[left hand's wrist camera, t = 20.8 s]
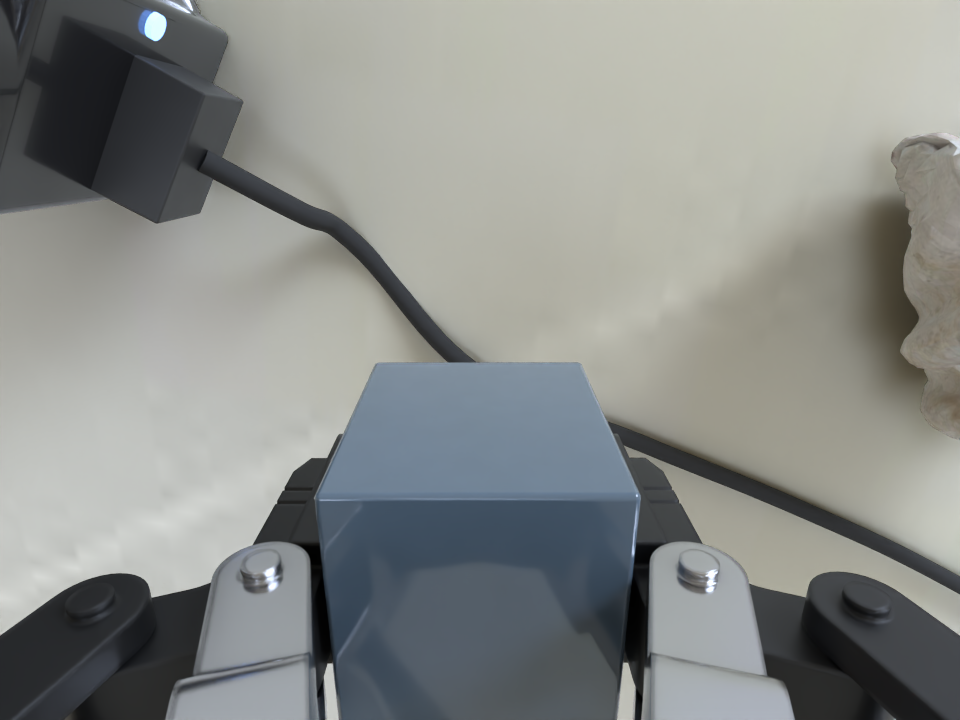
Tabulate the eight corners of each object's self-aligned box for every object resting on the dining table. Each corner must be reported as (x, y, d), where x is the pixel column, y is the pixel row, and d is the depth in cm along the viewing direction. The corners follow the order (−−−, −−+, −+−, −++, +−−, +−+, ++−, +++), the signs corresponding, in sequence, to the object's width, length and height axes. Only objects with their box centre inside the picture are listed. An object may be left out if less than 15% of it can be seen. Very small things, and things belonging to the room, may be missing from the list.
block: (374, 361, 12) (311, 495, 7) (582, 361, 12) (643, 495, 7) (387, 555, 13) (342, 763, 9) (570, 555, 14) (615, 763, 9)
